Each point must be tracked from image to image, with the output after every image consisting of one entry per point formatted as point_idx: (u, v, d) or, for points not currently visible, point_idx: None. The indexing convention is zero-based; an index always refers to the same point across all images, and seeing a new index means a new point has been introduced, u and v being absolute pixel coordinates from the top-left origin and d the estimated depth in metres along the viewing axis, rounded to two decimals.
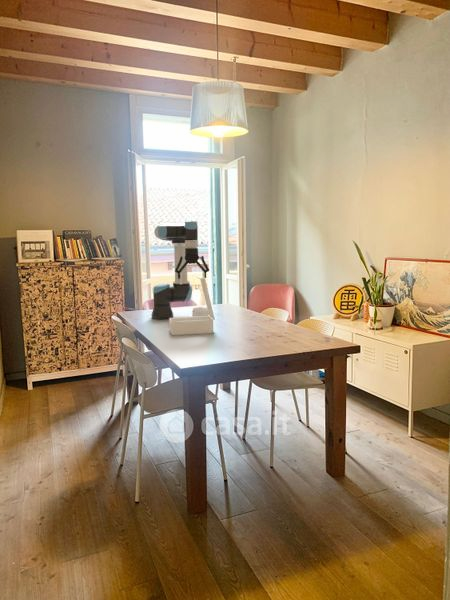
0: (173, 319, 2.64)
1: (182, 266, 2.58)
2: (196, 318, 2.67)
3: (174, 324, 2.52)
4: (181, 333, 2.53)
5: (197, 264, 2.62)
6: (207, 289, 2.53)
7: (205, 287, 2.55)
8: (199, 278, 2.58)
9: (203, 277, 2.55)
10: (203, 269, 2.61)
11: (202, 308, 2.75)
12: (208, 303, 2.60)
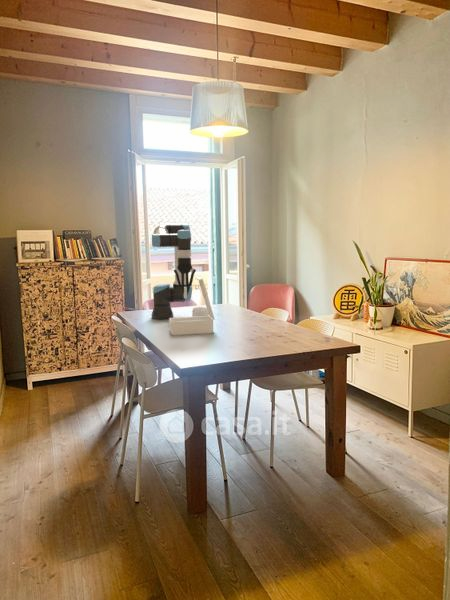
0: (173, 319, 2.64)
1: (181, 279, 2.55)
2: (196, 318, 2.67)
3: (174, 324, 2.52)
4: (181, 333, 2.53)
5: (185, 275, 2.56)
6: (205, 289, 2.53)
7: (203, 287, 2.55)
8: (197, 279, 2.57)
9: (201, 278, 2.55)
10: (187, 283, 2.55)
11: (202, 308, 2.75)
12: (207, 303, 2.60)
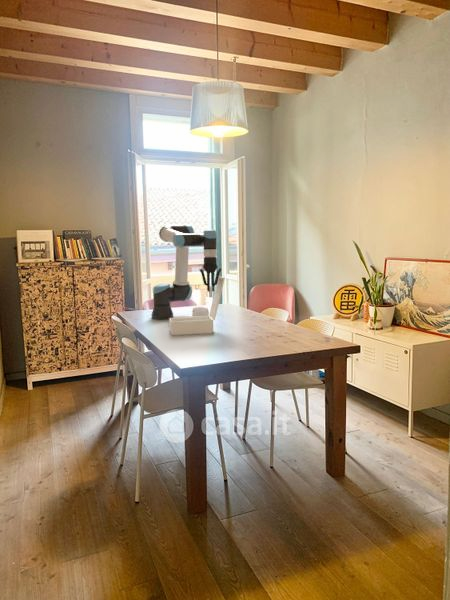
0: (173, 319, 2.64)
1: (207, 278, 2.58)
2: (196, 318, 2.67)
3: (174, 324, 2.52)
4: (181, 333, 2.53)
5: (211, 274, 2.60)
6: (221, 289, 2.55)
7: (220, 287, 2.57)
8: None
9: None
10: (213, 282, 2.59)
11: (202, 308, 2.75)
12: (215, 303, 2.61)
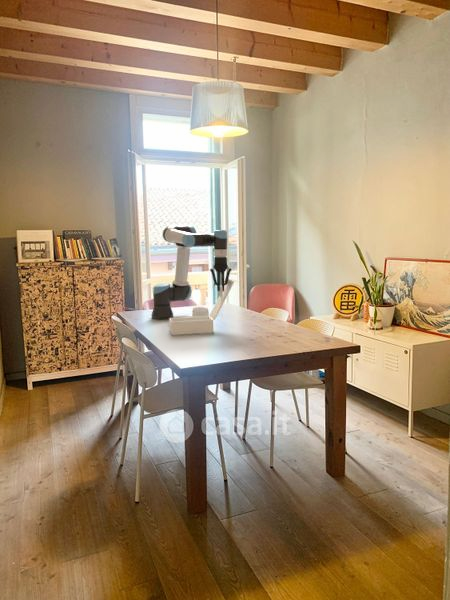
0: (173, 319, 2.64)
1: (217, 278, 2.60)
2: (196, 318, 2.67)
3: (174, 324, 2.52)
4: (181, 333, 2.53)
5: (221, 274, 2.61)
6: (228, 292, 2.56)
7: (228, 289, 2.58)
8: (228, 279, 2.62)
9: (232, 281, 2.60)
10: (223, 281, 2.60)
11: (202, 308, 2.75)
12: (219, 304, 2.61)
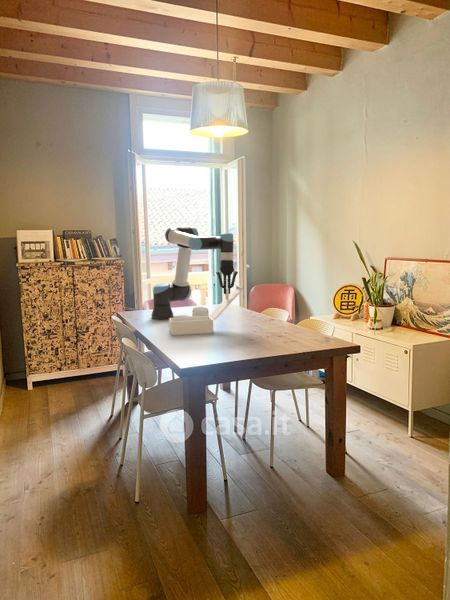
0: (173, 319, 2.64)
1: (224, 281, 2.61)
2: (196, 318, 2.67)
3: (174, 324, 2.52)
4: (181, 333, 2.53)
5: None
6: (235, 297, 2.58)
7: (235, 295, 2.60)
8: (237, 285, 2.64)
9: (241, 288, 2.62)
10: (229, 284, 2.61)
11: (202, 308, 2.75)
12: (222, 306, 2.62)
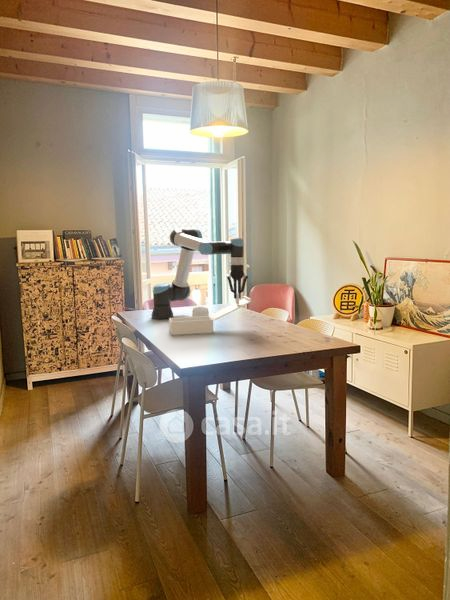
0: (173, 319, 2.64)
1: (234, 285, 2.63)
2: (196, 318, 2.67)
3: (174, 324, 2.52)
4: (181, 333, 2.53)
5: (238, 281, 2.64)
6: (241, 306, 2.59)
7: (241, 304, 2.62)
8: (246, 297, 2.66)
9: None
10: (239, 289, 2.63)
11: (202, 308, 2.75)
12: (225, 311, 2.63)
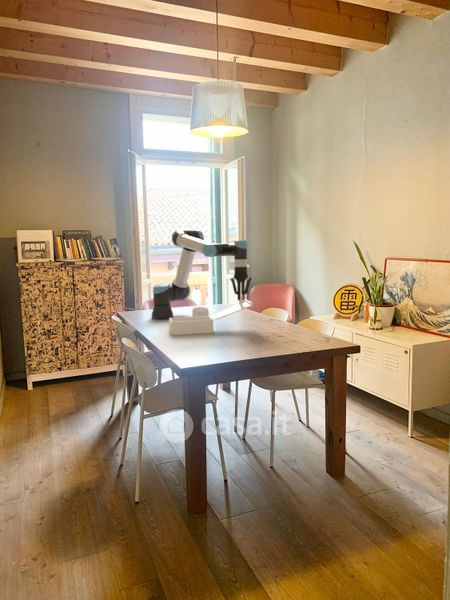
0: (173, 319, 2.64)
1: (238, 287, 2.64)
2: (196, 318, 2.67)
3: (174, 324, 2.52)
4: (181, 333, 2.53)
5: (241, 283, 2.65)
6: (242, 309, 2.60)
7: (243, 307, 2.62)
8: (248, 301, 2.67)
9: None
10: (243, 291, 2.64)
11: (202, 308, 2.75)
12: (226, 312, 2.63)
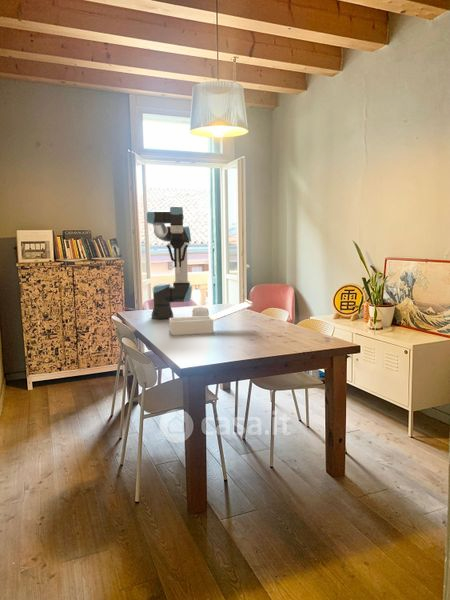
0: (173, 319, 2.64)
1: (174, 254, 2.63)
2: (196, 318, 2.67)
3: (174, 324, 2.52)
4: (181, 333, 2.53)
5: (178, 250, 2.65)
6: (242, 309, 2.60)
7: (243, 307, 2.62)
8: (248, 301, 2.67)
9: None
10: (179, 257, 2.64)
11: (202, 308, 2.75)
12: (226, 312, 2.63)
